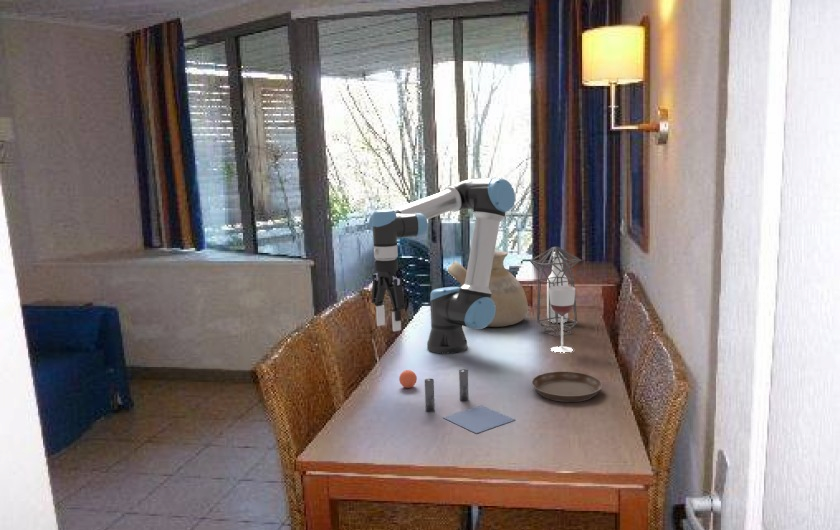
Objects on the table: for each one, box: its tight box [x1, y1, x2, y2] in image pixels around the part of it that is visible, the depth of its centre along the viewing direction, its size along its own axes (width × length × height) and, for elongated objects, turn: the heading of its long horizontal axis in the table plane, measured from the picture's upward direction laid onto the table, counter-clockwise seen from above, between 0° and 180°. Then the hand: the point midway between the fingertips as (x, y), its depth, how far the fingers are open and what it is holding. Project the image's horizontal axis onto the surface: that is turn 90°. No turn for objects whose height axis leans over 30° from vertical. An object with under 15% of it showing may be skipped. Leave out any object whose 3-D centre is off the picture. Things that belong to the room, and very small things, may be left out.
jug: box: [447, 250, 529, 328], centre depth 288 cm, size 29×34×30 cm
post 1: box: [424, 378, 436, 413], centre depth 191 cm, size 3×3×9 cm
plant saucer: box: [531, 371, 603, 403], centre depth 202 cm, size 21×21×3 cm
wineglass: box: [549, 285, 576, 354], centre depth 244 cm, size 9×10×23 cm
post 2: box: [458, 369, 469, 402], centre depth 198 cm, size 3×3×9 cm
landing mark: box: [443, 404, 516, 435], centre depth 184 cm, size 14×14×1 cm
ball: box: [398, 369, 418, 389], centre depth 211 cm, size 6×6×6 cm
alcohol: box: [546, 251, 569, 324], centre depth 285 cm, size 9×9×30 cm
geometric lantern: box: [530, 246, 583, 337], centre depth 266 cm, size 16×16×35 cm
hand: (388, 327), depth 216 cm, fingers open, 9 cm apart
